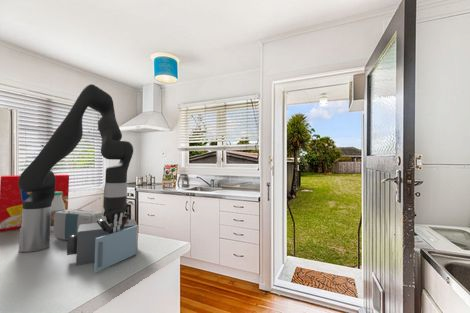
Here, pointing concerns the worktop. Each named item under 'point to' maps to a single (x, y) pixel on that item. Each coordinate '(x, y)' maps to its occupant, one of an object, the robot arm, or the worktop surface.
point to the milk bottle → (56, 207)
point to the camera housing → (88, 241)
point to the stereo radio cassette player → (73, 221)
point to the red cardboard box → (21, 200)
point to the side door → (115, 247)
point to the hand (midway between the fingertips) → (113, 241)
